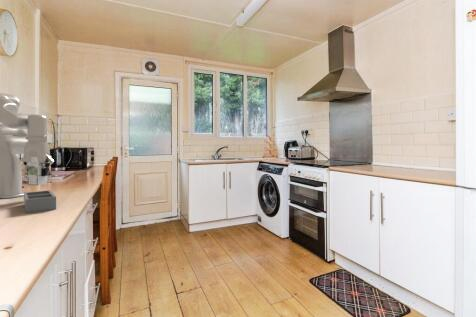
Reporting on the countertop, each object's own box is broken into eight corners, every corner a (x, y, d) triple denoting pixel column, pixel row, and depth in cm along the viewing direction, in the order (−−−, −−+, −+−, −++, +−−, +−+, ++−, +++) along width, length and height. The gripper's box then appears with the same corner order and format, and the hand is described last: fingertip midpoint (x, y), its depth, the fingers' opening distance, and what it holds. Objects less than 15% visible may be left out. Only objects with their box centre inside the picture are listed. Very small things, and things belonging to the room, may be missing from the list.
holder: (24, 204, 115) (23, 192, 115) (51, 201, 122) (50, 190, 122) (25, 213, 101) (25, 199, 101) (56, 209, 108) (56, 196, 108)
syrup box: (47, 183, 129) (47, 155, 128) (37, 185, 123) (37, 156, 122) (37, 183, 129) (37, 155, 128) (27, 185, 123) (26, 155, 122)
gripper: (13, 138, 120) (13, 175, 122) (49, 140, 121) (50, 177, 122) (25, 139, 128) (25, 174, 129) (60, 140, 129) (60, 175, 130)
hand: (37, 175), depth 126 cm, fingers closed on syrup box, 6 cm apart
